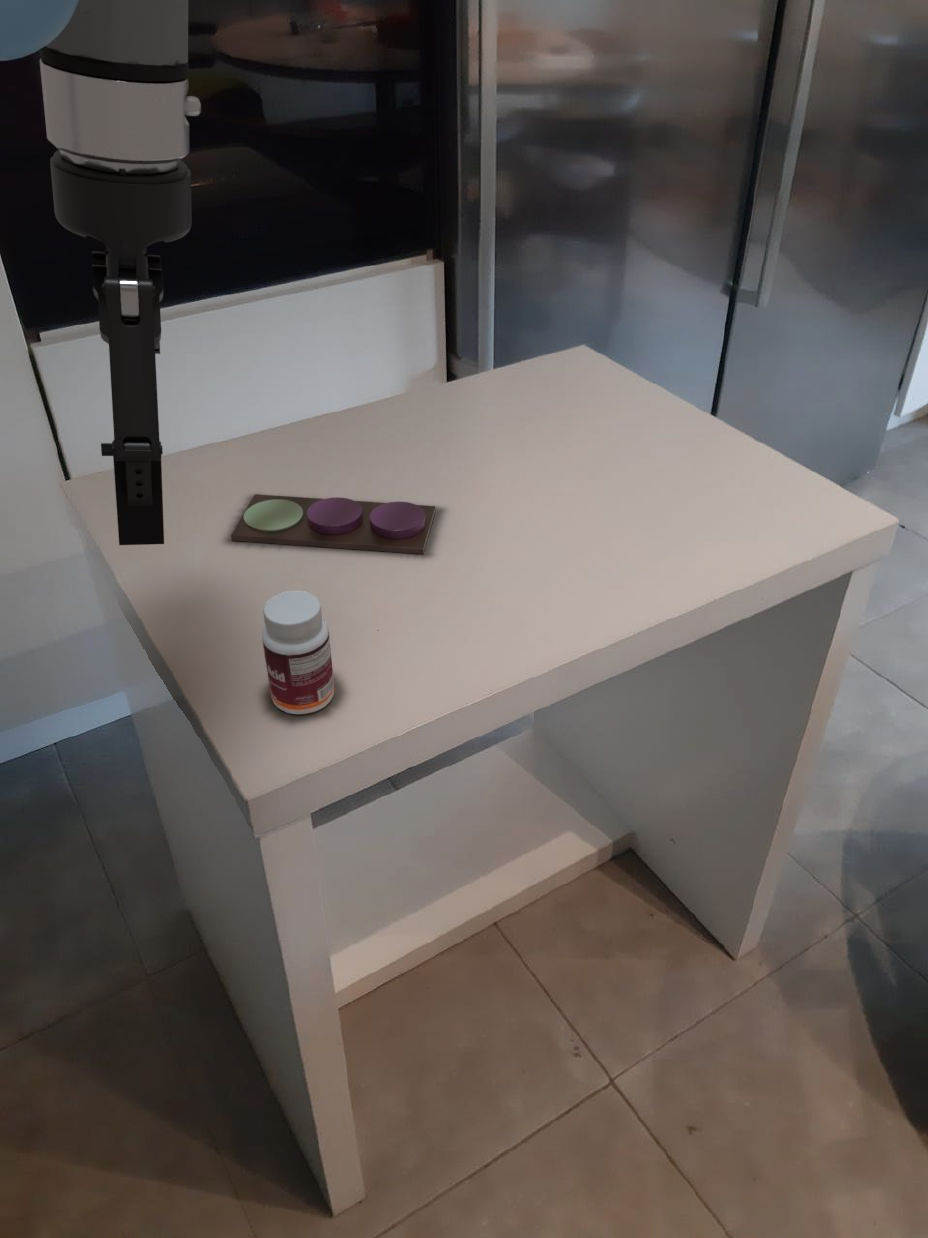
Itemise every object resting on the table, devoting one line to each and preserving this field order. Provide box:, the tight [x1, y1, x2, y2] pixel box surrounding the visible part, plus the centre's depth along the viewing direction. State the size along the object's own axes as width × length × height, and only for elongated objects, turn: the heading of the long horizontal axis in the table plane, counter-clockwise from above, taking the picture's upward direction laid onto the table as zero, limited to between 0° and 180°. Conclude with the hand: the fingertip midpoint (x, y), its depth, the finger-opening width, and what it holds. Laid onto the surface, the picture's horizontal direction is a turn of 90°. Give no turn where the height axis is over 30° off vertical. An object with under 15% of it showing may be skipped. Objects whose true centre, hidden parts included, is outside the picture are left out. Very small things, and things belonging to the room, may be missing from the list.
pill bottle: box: [261, 589, 335, 715], centre depth 71 cm, size 5×5×8 cm
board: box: [230, 493, 436, 555], centre depth 93 cm, size 18×8×2 cm, turn 83°
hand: (138, 488), depth 67 cm, fingers open, 13 cm apart
